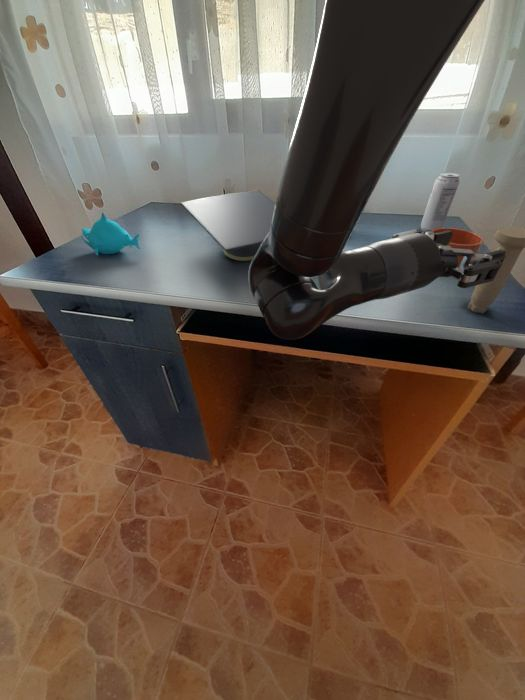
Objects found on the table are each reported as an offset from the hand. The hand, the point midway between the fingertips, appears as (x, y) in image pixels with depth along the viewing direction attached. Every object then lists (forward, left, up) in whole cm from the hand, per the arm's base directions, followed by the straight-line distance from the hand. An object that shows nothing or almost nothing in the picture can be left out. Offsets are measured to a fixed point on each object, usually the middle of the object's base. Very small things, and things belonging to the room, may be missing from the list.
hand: (473, 246), depth 45 cm
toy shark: (+74, +27, -15) cm, 80 cm away
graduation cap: (+49, +3, -15) cm, 51 cm away
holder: (+9, -30, -15) cm, 34 cm away
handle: (-4, -10, -15) cm, 18 cm away
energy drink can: (+20, -48, -15) cm, 54 cm away
